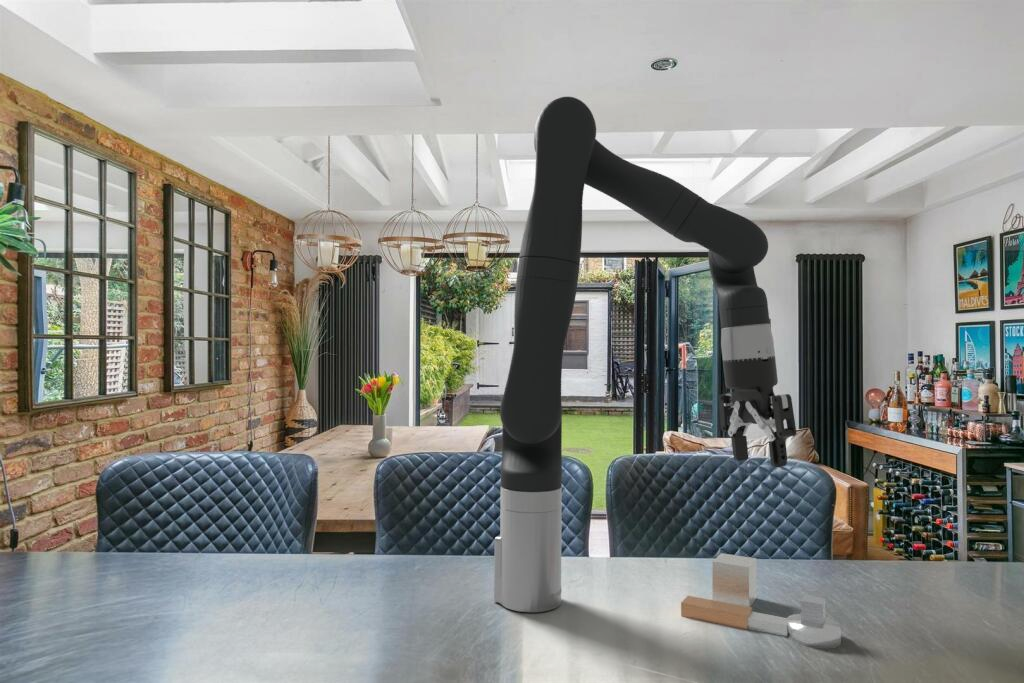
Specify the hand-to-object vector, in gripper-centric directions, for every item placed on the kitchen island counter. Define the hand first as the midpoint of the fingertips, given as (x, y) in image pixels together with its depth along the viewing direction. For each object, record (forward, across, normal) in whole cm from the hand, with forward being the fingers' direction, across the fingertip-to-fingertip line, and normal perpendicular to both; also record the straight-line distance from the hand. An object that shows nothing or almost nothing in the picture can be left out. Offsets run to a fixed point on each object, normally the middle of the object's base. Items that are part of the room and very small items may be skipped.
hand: (759, 463), depth 100 cm
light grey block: (+20, -3, -5) cm, 21 cm away
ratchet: (+21, +7, -8) cm, 23 cm away
